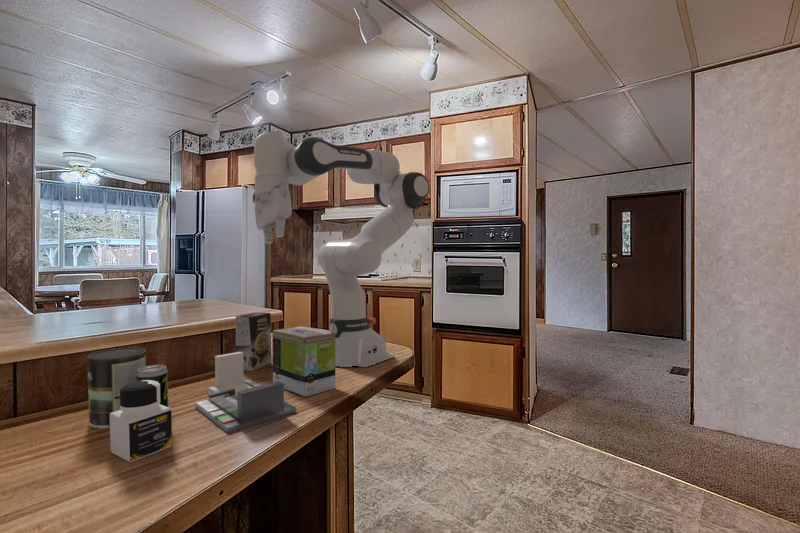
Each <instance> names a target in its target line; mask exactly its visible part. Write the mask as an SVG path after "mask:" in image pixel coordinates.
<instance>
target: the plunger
mask: <svg viewBox="0 0 800 533" xmlns="http://www.w3.org/2000/svg"><path fill="white" fill-rule="evenodd" d="M244 371H245V370H243V352H236V351H235V352H230V353H225V354H217V355H215V356H214V372H215V373H214V375H215V376H214V377H215V378H214V379H215V380H214V382H215V386H214V387H216V388H217V389H219V390H221V391H222V392H217V393H213V394H209V398H213V397H218V396H222V395H226V394H227V395H229V396H230V397H232V398H233V399H235V400H237V391H241V390H245V389H250V388H252V387H250V386H249V385H247V384H245V383H244V378H245V376H244V375H245V374H244Z"/></svg>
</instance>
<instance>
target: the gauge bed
mask: <svg viewBox="0 0 800 533" xmlns="http://www.w3.org/2000/svg"><path fill="white" fill-rule="evenodd" d="M244 383H245V384H247V385H249V386H250V387H252V388H250V389H245V390H241V391H237V400H235V399H233V398H232V397H230V396H229V395H227V394H226V395H222V396H218V397H213V398H209V394H213V393H217V392H222V391H221V390H219V389H217V388H216V387H215V386H208V387H207V389H208V390H207V391H208V392H207V395H208V399H205V400H201V401H197V402H195V403H194V405H195V406H194V407H195V409H196V410H197V411H198V412H200V413H201V414H202V415H204V417H206V418H208V420H210V421H211V422H212V423H214V424H215V425H216V426H218V427H219V429H221V430H223V431H224V432H225V433H227V434H229V433H232V432H233V433H234V432H235V431H239V430H242V429H245V428H248V427H252V426H255V425H258V424H262V423H264V422H268V421H272V420H274V419H278V418H280V417H284V416H287V415H291V414H294V413H297V407H296V406H294V405H292V404H290V403H288V402H287V401H285V396H284V395H285V394H284V393H285V388H284V383H282V382H274V383H273V382H271V383H266V384H262V385H260V384H259V383H257V382H254V381H252V380H250V379H249V378H245V379H244Z"/></svg>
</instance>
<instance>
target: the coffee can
mask: <svg viewBox="0 0 800 533" xmlns="http://www.w3.org/2000/svg"><path fill="white" fill-rule="evenodd" d="M146 354H147V349H146V348H144V347H137V346H131V347H130V346H128V347H115V348H108V349H102V350H98V351H95V352H94V351H93V352H92V353H89V354H87V356H86V361H87V388H88V389H87V390H88V395H87V396H88V426H89V427H90V428H92V429H99V430H105V429H106V430H108V429H109V430H110V413H112V412H115V411H119V410H120V389H121V388H122V387H123V386H125V385H127V384H129V383H132V382H135V381H136V375H137V373H138V369H139V368H142V367H146V366H147V364H146V363H147V360H146V359H147V358H146Z"/></svg>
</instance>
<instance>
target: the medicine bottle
mask: <svg viewBox="0 0 800 533" xmlns="http://www.w3.org/2000/svg"><path fill="white" fill-rule="evenodd" d="M172 419H173V418H172V408H171V407H166V406H163V405H160V384H159V383H158V382H157V381H153V380H141V381H135V382H132V383H129V384H127V385H125V386H123V387H122V388H121V389H120V410H119V411H115V412H112V413H110V428H109V438H110V439H109V442H110V446H109V447H110V452H111V453H112V454H113V455H115V456H117V457H119V458H121V459H122V460H124V461H126V462H127V463H134V462H137V461H140V460H141V459H145V458H147V457H149V456H152V455H154V454H156V453H159V452H161V451H164V450H167V449H168V448H171V447H173V446H172V445H173V430H172V429H173V427H172V426H173V422H172ZM146 456H147V457H146Z"/></svg>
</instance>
